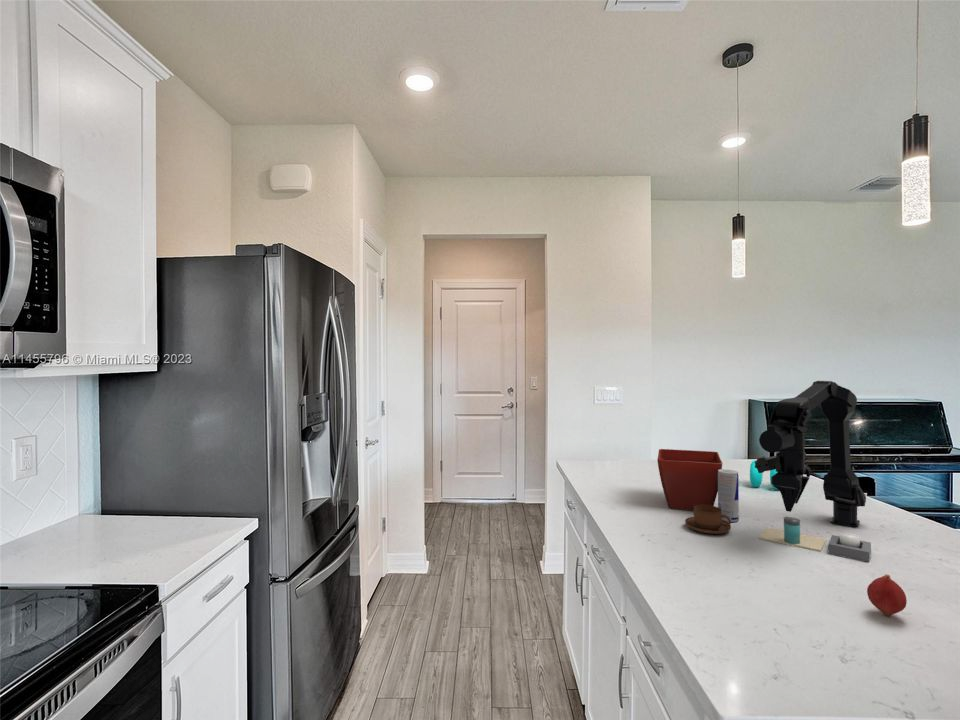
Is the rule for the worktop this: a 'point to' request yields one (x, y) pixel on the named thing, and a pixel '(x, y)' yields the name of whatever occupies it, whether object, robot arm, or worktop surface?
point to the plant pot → (689, 477)
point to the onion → (886, 595)
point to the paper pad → (805, 542)
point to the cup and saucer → (708, 520)
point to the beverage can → (728, 494)
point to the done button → (850, 540)
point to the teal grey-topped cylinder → (792, 530)
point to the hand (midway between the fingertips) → (791, 507)
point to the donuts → (758, 476)
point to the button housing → (849, 549)
